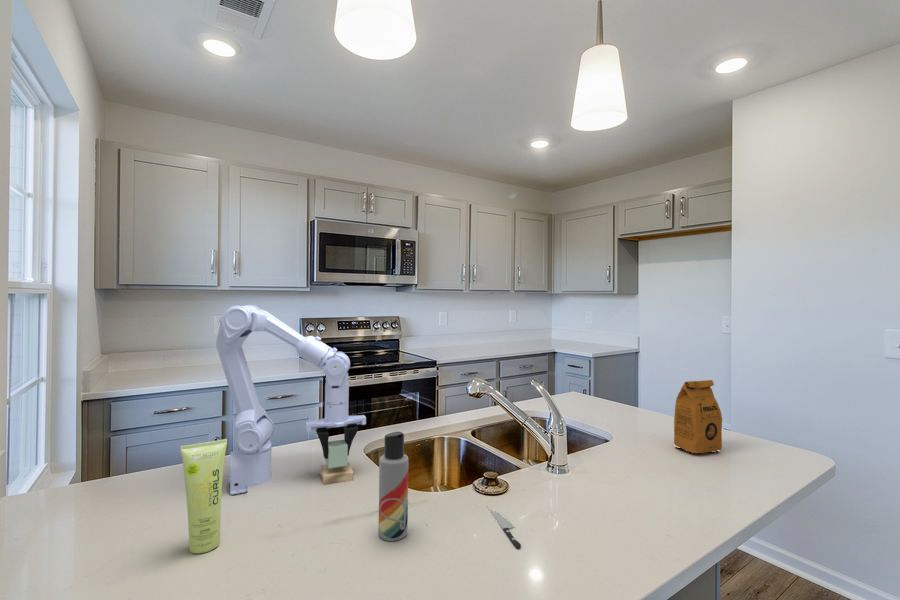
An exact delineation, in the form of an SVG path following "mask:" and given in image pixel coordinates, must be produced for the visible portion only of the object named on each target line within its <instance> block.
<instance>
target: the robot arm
mask: <svg viewBox="0 0 900 600" xmlns="http://www.w3.org/2000/svg"><path fill="white" fill-rule="evenodd" d="M218 321H219V328H218V331H217V332H218V334H217V337H216V342H215V346H216V350H217V353H218V356H219V359H220V363H221V366H222V368H223V373H224V376H225V378H226V382H227V386H228V388H229V392H230V395H231V398H232V401H233V404H234V408H235V412H236V420H235V424H234V427H235V429H236V436H235V445H236V447H237V448H238V449H237V450H233V451H230V452H229V453H230V454H229V455H230V462H229V464H230V466H229V467H230V468H229V470H230V471H229V475H228V484H229V487H230V488H229V492H230V493H229V494H230V496H234V495H238V494H239V495H240V494H244V493H248V487H254V486H259V485H262V484H266V483H267V482H269V481H270V480H271V479H272V446H273V444H272V442H271V437H272V436H273V434H274V432H275V424H274V422H273V420H272V419H271V418H270V417H269V416H268V414H267V411H266V409H264V408H263V407H262V406H261V404H260V400H259V398H258V394H257V391H256V387H255V385H254V381H253V379H252V374H251V372H250V368H249V365H248V362H247V359H246V356H245V353H244V349H243V344H244V343H245V342H246V340H247V338H248V337H249V335H250V334H252V332H266V333H267V332H268V333H269V334H271V335H272V336H274V337H276V338H278V339H280V340H281V341H284V342H285V343H287V344H289V345H291V346H292V347H294V348H296V353H297V356H299V357H301V358H303V360H305V361H307V362H309V363H310V364H312V365H313V366H315V367H317V368H318V369H322V371H323V374H324V375H325V385H324V418H323V417H322V418H319V419H315V420H311V421H310V420H309V421H306V422H305V431H306V432H307V433H310V432H312V431H315V432H316V434H317V436H318V440H319V442H320V445H321V448H322V454H323V458H324V460H326V459H328V442H329V438H330V433H329V432H328V429H332V428H342V427H343V434H344V439H343V440H345V442H346V443H347V445H348V456H350V451H351V447H352V444H353V440H354V438H355V437H356V434H357V433H358V429H359V427H358V425H362V426H365V425H366V424H367V417H366V416H365V414H362V415H349V401H350V400H349V396H350V393H349V391H350V387H349V386H350V383H349V378H350V376H349V372H348V371H349V370H350V367H351V360H350V358H349V356H348V355H347V354H345V353H346V352H343V351H338V349H337V348H336V347H331V346H329V345H327V344H326V343H324V342H323V341H322V337H319V336H318V335H317V336H313V335H308V336H304V335H302V334H301V333H299V332H298V331H296V330H295V329H294V328H293V327H291V326H289V325H288V324H286V323H284V322H283V321H281V320H280V319H278V318H277V317H276V316H274V315H273V314H272V313H270V312H268V311H266V310H265V309H261V308H260V307H258V306H257V305H254V304H246V305H233V306H230V307H229V308H227V310H225V312H224V313H222V316H220V318H219V319H218Z"/></svg>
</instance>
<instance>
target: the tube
mask: <svg viewBox="0 0 900 600" xmlns="http://www.w3.org/2000/svg"><path fill="white" fill-rule="evenodd" d="M227 445H228V438H224V439H220V440H213V441H212V440H211V441H206V442H199V443H194V444H188V445H187V444H186V445H181V446H179V451H180V454H181V459H182V467H183V468H182V469H183V473H184V475H183V477H184V482H185V483H184V484H185V496H186V509H187V510H186V511H187V525H188V526H187V528H188V547H189V549H188V550H189V551H190V553H192V554H203V553H208V552H210V551H212V550H214V549H216V548H217V547H218V546H219V544H220V542H221V517H222V515H221V513H222V495H223V494H222V493H223V492H222V491H223V480H224V479H223V478H224V469H225V459H226V451H227Z"/></svg>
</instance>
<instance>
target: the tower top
mask: <svg viewBox="0 0 900 600" xmlns="http://www.w3.org/2000/svg"><path fill="white" fill-rule="evenodd" d="M320 474H321V477H322V479H321V481H322V480H323V481H322V483H323V485H324V486H327V484H329V485H333V484H339V483H345V482H353V481H354V471H353V469H352V466H351V464H350V462H349V461H348V462H347V466H341V467H334V468H328V466H327V464H323V465H320ZM321 477H320V478H321Z"/></svg>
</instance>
